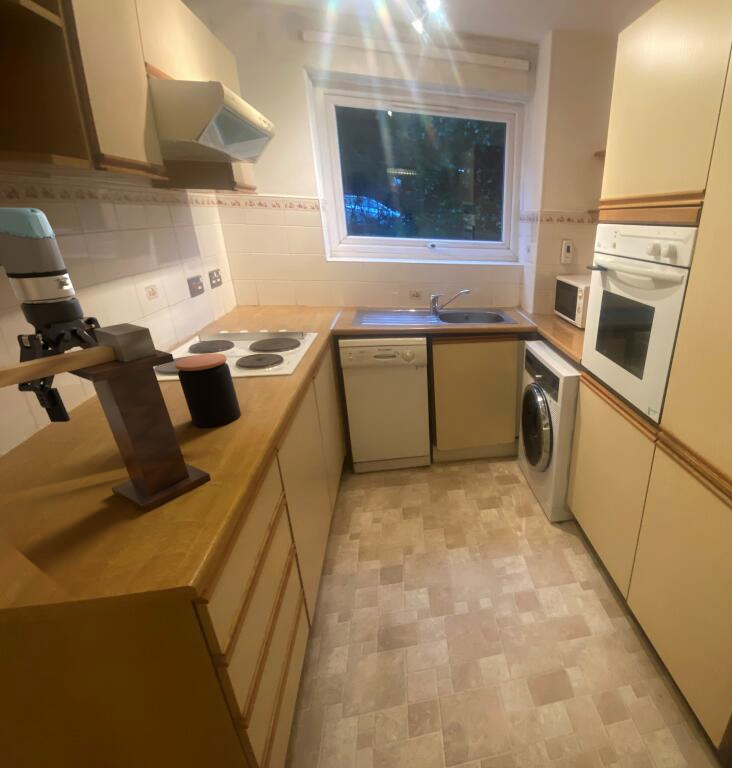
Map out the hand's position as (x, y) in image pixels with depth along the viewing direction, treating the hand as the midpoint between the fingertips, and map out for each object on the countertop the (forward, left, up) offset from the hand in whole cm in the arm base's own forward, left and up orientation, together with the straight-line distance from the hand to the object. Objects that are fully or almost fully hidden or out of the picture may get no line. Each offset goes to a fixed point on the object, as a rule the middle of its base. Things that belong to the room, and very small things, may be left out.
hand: (91, 405), depth 86 cm
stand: (+8, -10, -16) cm, 21 cm away
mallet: (+3, -13, +12) cm, 18 cm away
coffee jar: (+18, +16, -17) cm, 29 cm away
